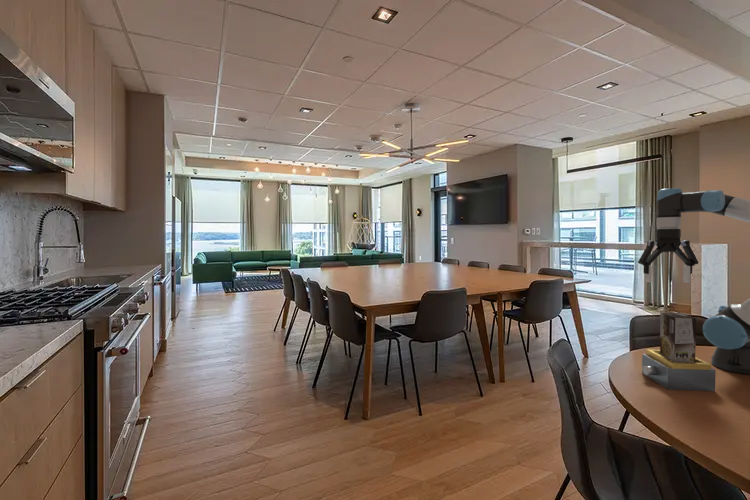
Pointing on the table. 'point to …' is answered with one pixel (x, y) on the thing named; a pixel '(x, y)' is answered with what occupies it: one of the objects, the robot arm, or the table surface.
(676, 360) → the coffee box
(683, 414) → the table surface
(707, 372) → the grey yellow box
